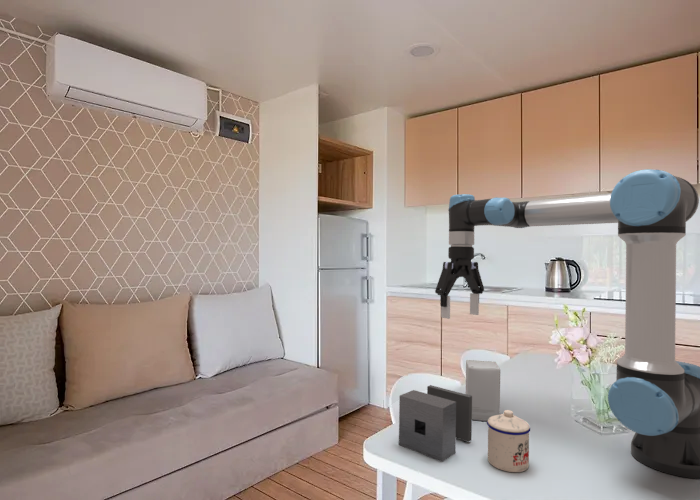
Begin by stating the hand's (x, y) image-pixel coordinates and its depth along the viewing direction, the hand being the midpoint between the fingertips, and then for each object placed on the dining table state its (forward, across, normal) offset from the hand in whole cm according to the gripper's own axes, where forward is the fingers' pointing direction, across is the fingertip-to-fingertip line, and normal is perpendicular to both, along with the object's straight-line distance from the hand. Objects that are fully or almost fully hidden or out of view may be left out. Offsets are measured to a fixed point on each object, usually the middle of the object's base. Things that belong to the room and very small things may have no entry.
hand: (460, 316), depth 128 cm
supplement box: (+28, -1, +7) cm, 29 cm away
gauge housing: (+28, +24, +10) cm, 38 cm away
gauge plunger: (+28, +22, +10) cm, 36 cm away
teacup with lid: (+28, +16, +27) cm, 43 cm away
